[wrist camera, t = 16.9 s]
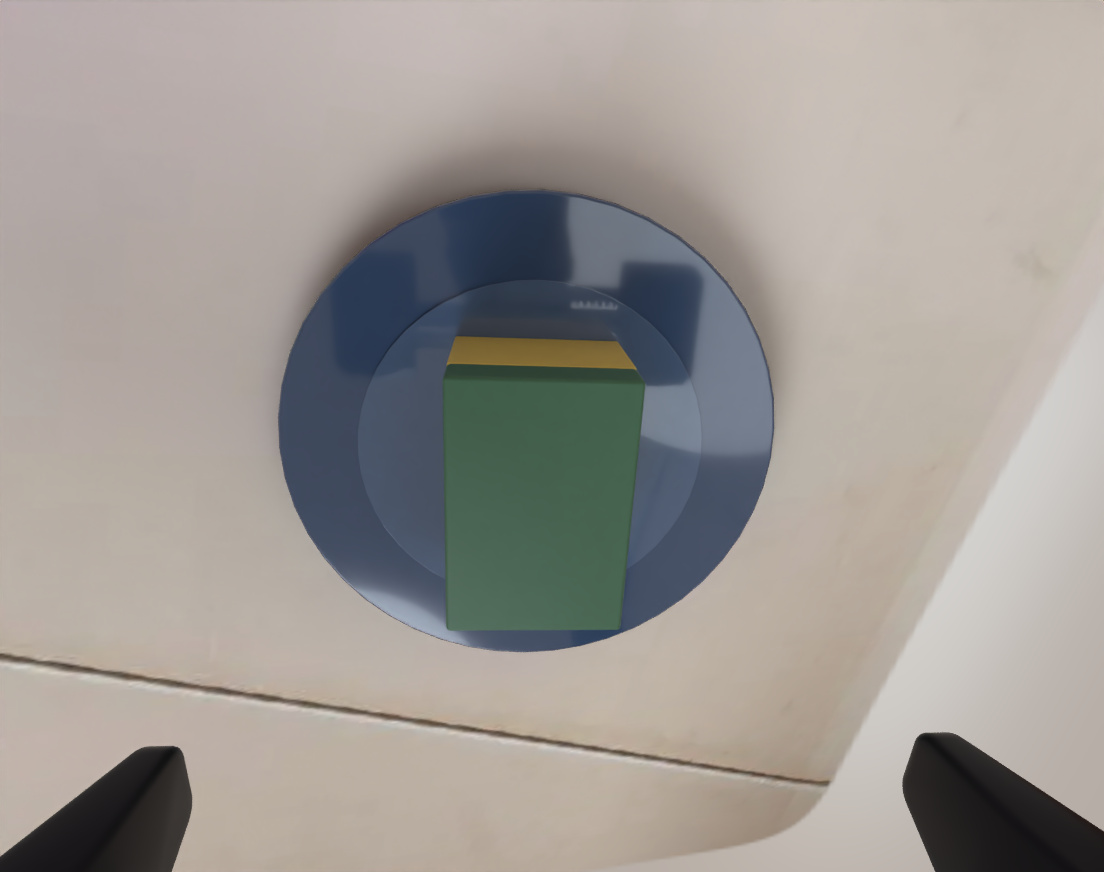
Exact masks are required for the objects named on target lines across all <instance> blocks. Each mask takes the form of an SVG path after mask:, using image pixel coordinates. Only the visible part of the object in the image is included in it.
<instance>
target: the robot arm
mask: <svg viewBox="0 0 1104 872" xmlns="http://www.w3.org/2000/svg"><path fill="white" fill-rule="evenodd" d="M903 794H904V797H905V801H906V803H907V806H908V808H909V811H910V813H911V815H912V817H913V820H914V822H915V825H916V827H917V830H918V832H919V834H920V837H921V839H922V841H923V844H924V846H925V849H926V851H927V853H928V855H929V858H930V860H931V863H932V865H933V867H934V870H935V872H1104V831H1102V830H1101V829H1099V828H1098V827H1096V826H1095V825H1093V824H1092V823H1090V822H1089V821H1087V820H1086V819H1084V818H1082V817H1081V816H1079V815H1078V814H1076V813H1075V812H1073V811H1072V810H1070V809H1069V808H1067V807H1066V806H1064V805H1063V804H1061V803H1060V802H1058V801H1057V800H1055V799H1054V798H1052V797H1051V796H1049V795H1048V794H1046V793H1045V792H1043V791H1041V790H1040V789H1039V788H1037V787H1035V786H1034V785H1032V784H1031V783H1030V782H1028V781H1026V780H1025V779H1023V778H1022V777H1020V776H1019V775H1017V774H1016V773H1014V772H1013V771H1011V770H1010V769H1008V768H1007V767H1005V766H1004V765H1002V764H1001V763H999V762H998V761H996V760H995V759H993V758H992V757H990V756H989V755H987V754H986V753H984V752H982V751H981V750H980V749H978V748H976V747H975V746H973V745H972V744H970V743H969V742H967V741H966V740H964V739H963V738H961V737H960V736H958V735H956V734H953V733H923V734H921V735H919V736H918V737H917V738H916V741H915V743H914V746H913V749H912V753H911V756H910V758H909V761H908V764H907V767H906V770H905V773H904V776H903ZM191 809H192V793H191V788H190V784H189V779H188V774H187V769H186V765H185V760H184V756H183V753H182V751H181V750H180V749H179V748H178V747H175V746H151V747H143V748H141V749H139V750H137V751H135V752H134V753H132V754H131V755H130V756H128V757H127V758H126V759H125V760H123V761H122V762H121V763H119V764H118V765H117V766H116V767H114V768H113V769H112V770H110V771H109V772H108V773H107V774H105V775H104V776H103V777H102V778H100V779H99V780H98V781H96V782H95V783H94V784H93V785H91V786H90V787H89V788H87V789H86V790H85V791H84V792H82V793H81V794H80V795H78V796H77V797H76V798H75V799H73V800H72V801H71V802H70V803H68V804H67V805H66V806H64V807H63V808H62V809H61V810H59V811H58V812H57V813H55V814H54V815H53V816H52V817H50V818H49V819H48V820H46V821H45V822H44V823H43V824H41V825H40V826H39V827H38V828H36V829H35V830H34V831H32V832H31V833H30V834H29V835H27V836H26V837H25V838H23V839H22V840H21V841H20V842H18V843H17V844H16V845H14V846H13V847H12V848H11V849H9V850H8V851H7V852H6V853H4V854H3V855H2V856H0V872H172V869H173V866H174V863H175V860H176V857H177V854H178V851H179V848H180V845H181V842H182V839H183V837H184V834H185V831H186V828H187V825H188V822H189V818H190V814H191Z"/></svg>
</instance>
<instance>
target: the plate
mask: <svg viewBox="0 0 1104 872" xmlns="http://www.w3.org/2000/svg"><path fill="white" fill-rule="evenodd" d="M456 336H465V337H496V338H527V339H559V340H590V341H617V342H618V343H619V344H620V346H621V347H622V349H623V350H624V351H625V353H626V354H627V356H628V357H629V358H630V360H631V361H632V363H633V364H634V366H635V367H636V369H637V371H638V373H639V374H640V375H641V377H642V378H643V380H644V381H645V384H646V386H645V396H644V405H643V415H642V424H641V434H640V444H639V453H638V463H637V472H636V482H635V492H634V501H633V511H632V520H631V530H630V540H629V549H628V559H627V568H626V578H625V587H624V597H623V607H622V616H621V626H620V628H619V629H618V630H479V631H450V630H447V627H446V592H445V521H444V449H443V376H444V373H445V370H446V367H447V361H448V358H449V355H450V352H451V349H452V346H453V343H454V339H455V337H456ZM278 428H279V449H280V454H281V460H282V465H283V470H284V476H285V480H286V483H287V486H288V489H289V492H290V495H291V498H292V501H293V504H294V507H295V509H296V511H297V513H298V515H299V517H300V519H301V521H302V523H303V525H304V527H305V529H306V531H307V533H308V535H309V536H310V538H311V539H312V541H313V542H314V544H315V545H316V546H317V548H318V549H319V551H320V552H321V554H322V555H323V557H324V558H325V559H326V561H327V562H328V563H329V564H330V565H331V566H332V567H333V568H334V570H335V571H336V572H337V573H338V574H339V575H340V576H341V578H342V579H343V580H344V581H345V582H346V583H348V584H349V585H350V586H351V587H352V588H353V589H354V590H356V591H357V592H358V593H359V594H360V595H361V596H362V597H363V598H365V599H366V600H367V601H369V602H370V603H372V604H373V605H375V606H376V607H377V608H379V609H380V610H382V611H383V612H385V613H386V614H388V615H389V616H391V617H393V618H395V619H397V620H399V621H400V622H402V623H404V624H406V625H408V626H410V627H412V628H414V629H416V630H419V631H421V632H424V633H426V634H429V635H431V636H434V637H436V638H439V639H442V640H446V641H449V642H453V643H457V644H461V645H464V646H468V647H474V648H481V649H487V650H494V651H509V652H537V651H553V650H559V649H565V648H571V647H577V646H582V645H586V644H589V643H593V642H597V641H600V640H604V639H607V638H610V637H612V636H615V635H618V634H620V633H623V632H625V631H628V630H630V629H633V628H635V627H637V626H639V625H641V624H642V623H644V622H646V621H648V620H650V619H652V618H654V617H656V616H658V615H659V614H661V613H662V612H664V611H665V610H667V609H668V608H670V607H671V606H673V605H674V604H675V603H677V602H678V601H680V600H681V599H683V598H684V597H685V596H686V595H687V594H689V593H690V592H691V591H692V590H693V589H694V588H696V587H697V586H698V585H699V584H700V583H701V582H703V581H704V580H705V579H706V577H707V576H708V575H709V574H710V573H711V572H712V571H713V570H714V569H715V568H716V567H717V566H718V564H719V563H720V562H721V561H722V560H723V559H724V557H725V556H726V555H727V553H728V552H729V551H730V549H731V548H732V546H733V545H734V544H735V542H736V541H737V540H738V538H739V537H740V535H741V533H742V531H743V529H744V528H745V526H746V524H747V522H748V520H749V519H750V517H751V515H752V513H753V511H754V509H755V506H756V504H757V501H758V499H759V496H760V494H761V491H762V489H763V486H764V482H765V478H766V475H767V471H768V467H769V463H770V459H771V452H772V443H773V435H774V397H773V390H772V384H771V378H770V372H769V367H768V364H767V360H766V357H765V354H764V351H763V348H762V344H761V341H760V338H759V336H758V334H757V332H756V330H755V328H754V326H753V323H752V321H751V319H750V317H749V315H748V313H747V311H746V309H745V308H744V306H743V305H742V303H741V302H740V300H739V299H738V297H737V296H736V294H735V293H734V291H733V290H732V288H731V287H730V285H729V284H728V282H727V281H726V280H725V279H724V278H723V277H722V276H721V275H720V273H719V272H718V271H717V270H716V269H715V268H714V267H713V266H712V265H711V264H710V262H709V261H708V260H707V259H706V258H705V257H704V256H703V255H701V254H700V253H699V252H698V251H696V250H695V249H694V248H693V247H692V246H690V245H689V244H688V243H687V242H686V241H684V240H683V239H682V238H681V237H679V236H678V235H676V234H675V233H673V232H672V231H670V230H668V229H667V228H665V227H663V226H662V225H660V224H658V223H657V222H655V221H653V220H652V219H650V218H648V217H646V216H644V215H641V214H639V213H637V212H634V211H632V210H630V209H627V208H625V207H623V206H620V205H618V204H616V203H612V202H608V201H605V200H601V199H597V198H593V197H590V196H586V195H582V194H577V193H569V192H561V191H553V190H545V189H517V190H501V191H495V192H489V193H482V194H476V195H470V196H467V197H464V198H461V199H458V200H454V201H451V202H448V203H445V204H441V205H438V206H435V207H433V208H431V209H428V210H426V211H424V212H422V213H420V214H418V215H416V216H414V217H411V218H409V219H407V220H405V221H403V222H401V223H399V224H398V225H396V226H395V227H393V228H392V229H390V230H389V231H387V232H385V233H384V234H382V235H381V236H379V237H378V238H376V239H375V240H373V241H372V242H370V243H369V244H368V245H367V246H366V247H365V248H363V249H362V250H361V251H360V252H359V253H358V254H357V255H356V256H354V257H353V258H352V259H351V260H350V261H349V262H348V263H347V264H346V265H344V266H343V267H342V269H341V270H340V271H339V272H338V273H337V274H336V276H335V277H334V278H333V279H332V280H331V282H330V283H329V284H328V285H327V286H326V288H325V289H324V290H323V291H322V292H321V294H320V295H319V297H318V298H317V300H316V302H315V303H314V305H313V307H312V308H311V310H310V312H309V313H308V315H307V316H306V318H305V320H304V321H303V323H302V325H301V328H300V330H299V332H298V335H297V337H296V340H295V342H294V344H293V347H292V349H291V351H290V354H289V358H288V362H287V365H286V369H285V373H284V377H283V381H282V385H281V394H280V403H279V412H278Z"/></svg>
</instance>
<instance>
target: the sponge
mask: <svg viewBox="0 0 1104 872" xmlns="http://www.w3.org/2000/svg"><path fill="white" fill-rule="evenodd" d="M645 386H646V384H645V381H644V380H643V378H642V377H641V375H640V374H639V373H638V371H637V369H636V367H635V366H634V364H633V363H632V361H631V360H630V358H629V357H628V356H627V354H626V353H625V351H624V350H623V349H622V347H621V346H620V344H619V343H618V342H617V341H590V340H559V339H527V338H496V337H465V336H456V337H455V339H454V343H453V346H452V349H451V352H450V355H449V358H448V361H447V367H446V370H445V373H444V376H443V449H444V521H445V592H446V627H447V630H450V631H479V630H618V629H619V628H620V626H621V616H622V607H623V597H624V587H625V578H626V568H627V559H628V549H629V540H630V530H631V520H632V511H633V501H634V492H635V482H636V472H637V463H638V453H639V444H640V434H641V424H642V415H643V405H644V396H645Z"/></svg>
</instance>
